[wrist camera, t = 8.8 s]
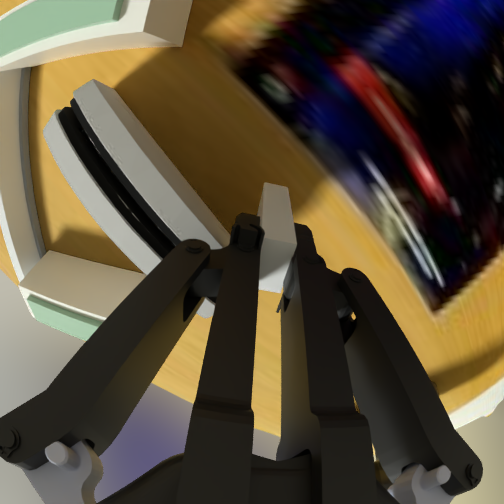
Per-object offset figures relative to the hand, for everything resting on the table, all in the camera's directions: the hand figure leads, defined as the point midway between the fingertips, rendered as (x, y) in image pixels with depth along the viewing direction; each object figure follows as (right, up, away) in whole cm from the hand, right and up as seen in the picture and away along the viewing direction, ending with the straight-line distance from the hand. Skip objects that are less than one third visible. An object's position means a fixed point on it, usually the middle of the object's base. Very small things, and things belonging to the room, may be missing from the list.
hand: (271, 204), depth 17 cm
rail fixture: (-16, +4, +1) cm, 16 cm away
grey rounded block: (-7, +2, +2) cm, 8 cm away
